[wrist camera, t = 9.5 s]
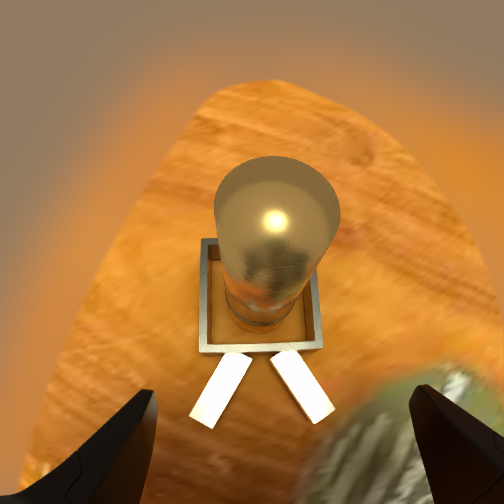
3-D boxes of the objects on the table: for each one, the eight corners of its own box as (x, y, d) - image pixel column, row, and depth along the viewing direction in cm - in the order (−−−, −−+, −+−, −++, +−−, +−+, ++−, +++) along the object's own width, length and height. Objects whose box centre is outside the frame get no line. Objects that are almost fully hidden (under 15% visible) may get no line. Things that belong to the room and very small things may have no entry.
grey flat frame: (329, 419, 16) (340, 422, 14) (193, 424, 16) (186, 430, 14) (316, 251, 20) (323, 236, 18) (194, 253, 20) (189, 238, 18)
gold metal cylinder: (288, 335, 18) (346, 270, 8) (225, 331, 18) (204, 262, 8) (289, 275, 20) (336, 160, 10) (229, 272, 20) (219, 151, 10)
